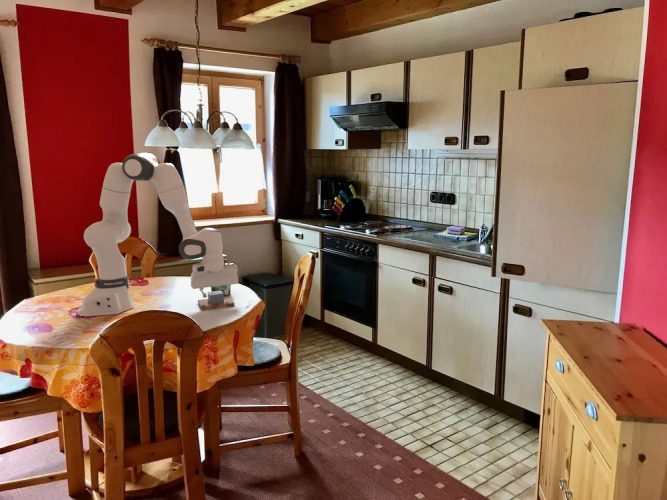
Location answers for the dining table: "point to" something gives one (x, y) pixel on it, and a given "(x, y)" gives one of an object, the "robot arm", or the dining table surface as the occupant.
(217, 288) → the food container
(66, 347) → the dining table surface
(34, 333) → the dining table surface
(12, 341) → the dining table surface
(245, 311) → the dining table surface
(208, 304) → the board
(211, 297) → the grey drawer unit
